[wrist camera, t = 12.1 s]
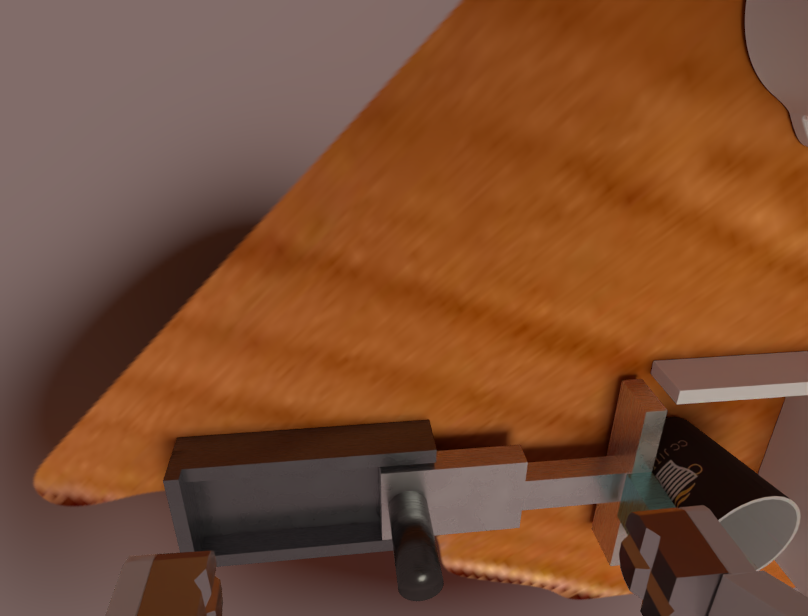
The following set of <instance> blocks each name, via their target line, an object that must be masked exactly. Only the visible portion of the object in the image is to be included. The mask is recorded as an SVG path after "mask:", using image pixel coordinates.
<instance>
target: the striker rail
mask: <svg viewBox="0 0 808 616" xmlns="http://www.w3.org/2000/svg"><path fill="white" fill-rule="evenodd" d="M436 454H437V449H436V445H435V441H434V437H433V433H432V429H431V425H430V421H429V420H421V421H407V422H393V423H379V424H365V425H351V426H337V427H323V428H309V429H294V430H280V431H266V432H252V433H238V434H224V435H210V436H196V437H182V438H177V440H176V443H175V446H174V449H173V452H172V455H171V458H170V461H169V464H168V467H167V470H166V473H165V477H164V480H163V483H164V487H165V491H166V495H167V499H168V503H169V508H170V512H171V516H172V520H173V524H174V528H175V532H176V537H177V541H178V545H179V549H180V553H182V552H197V551H214V553H215V558H216V562H217V566H216V567H219V566H230V565H241V564H252V563H262V562H273V561H283V560H295V559H305V558H316V557H326V556H336V555H347V554H358V553H369V552H380V551H391V550H393V542H392V539H389V540H382V534H381V525H380V493H379V467H387V466H400V465H412V464H425V463H436Z"/></svg>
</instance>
